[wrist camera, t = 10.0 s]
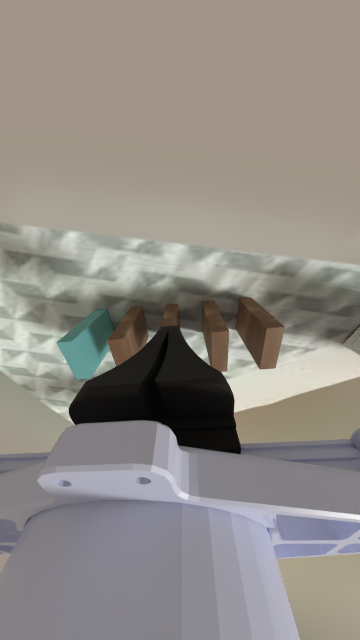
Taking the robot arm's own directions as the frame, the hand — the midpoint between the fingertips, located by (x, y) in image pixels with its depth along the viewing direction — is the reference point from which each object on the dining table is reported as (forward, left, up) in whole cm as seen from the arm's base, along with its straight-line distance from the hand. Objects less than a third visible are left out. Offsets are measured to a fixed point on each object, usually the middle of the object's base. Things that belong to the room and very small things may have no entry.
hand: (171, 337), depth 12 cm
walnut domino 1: (-5, +5, -11) cm, 13 cm away
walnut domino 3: (-3, -5, -11) cm, 12 cm away
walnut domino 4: (-2, -10, -11) cm, 14 cm away
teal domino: (-6, +10, -11) cm, 16 cm away
